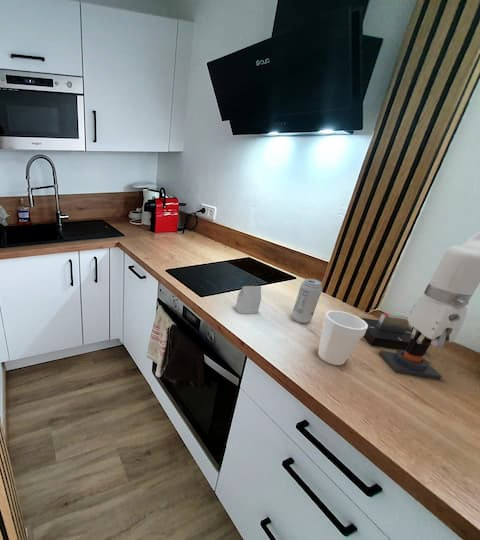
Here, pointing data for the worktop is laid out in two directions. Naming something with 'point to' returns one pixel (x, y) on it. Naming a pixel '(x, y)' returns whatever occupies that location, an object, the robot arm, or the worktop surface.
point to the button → (412, 357)
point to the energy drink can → (307, 300)
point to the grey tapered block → (249, 299)
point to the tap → (393, 323)
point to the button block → (409, 365)
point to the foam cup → (340, 336)
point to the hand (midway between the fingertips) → (413, 353)
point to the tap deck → (386, 336)
